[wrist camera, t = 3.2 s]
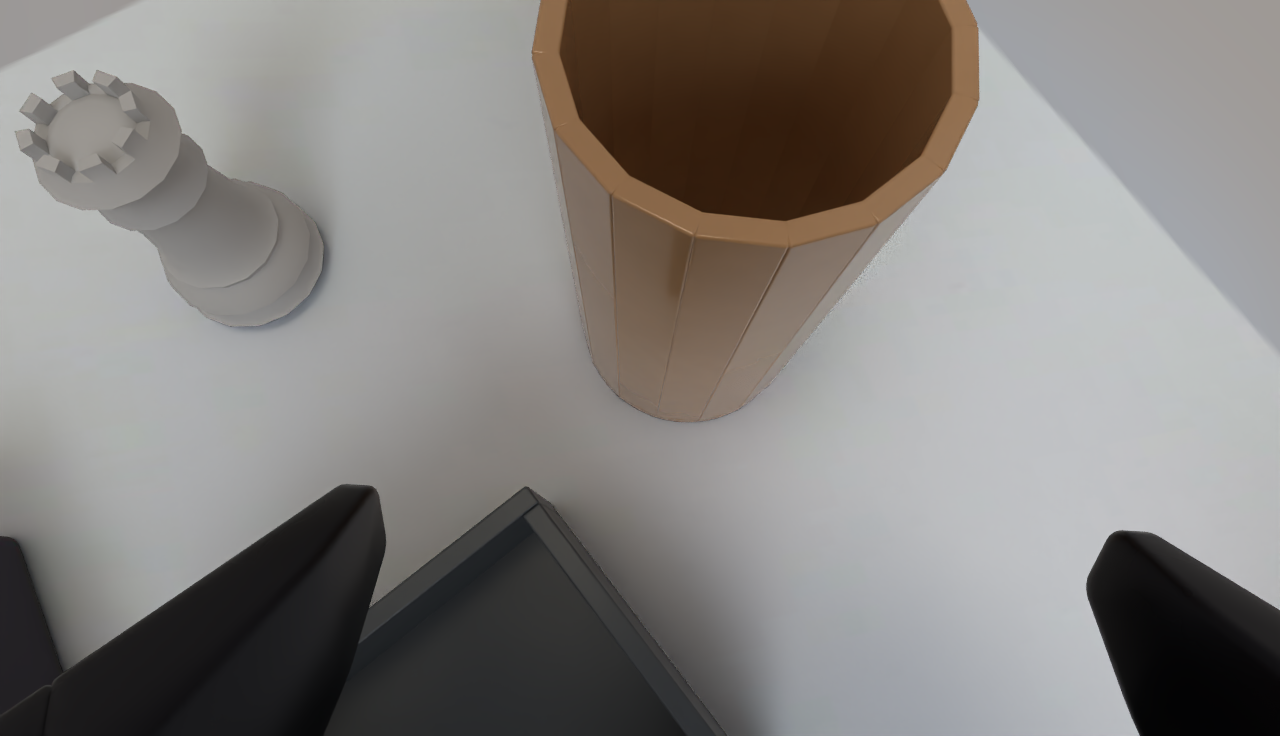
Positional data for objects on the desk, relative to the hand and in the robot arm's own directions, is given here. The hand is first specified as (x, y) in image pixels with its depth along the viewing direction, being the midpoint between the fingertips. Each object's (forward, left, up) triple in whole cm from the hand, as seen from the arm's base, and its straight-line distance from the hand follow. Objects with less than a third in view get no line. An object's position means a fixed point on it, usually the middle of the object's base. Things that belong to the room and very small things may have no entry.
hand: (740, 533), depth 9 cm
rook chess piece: (+15, +5, -13) cm, 20 cm away
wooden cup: (+5, -5, -13) cm, 14 cm away
